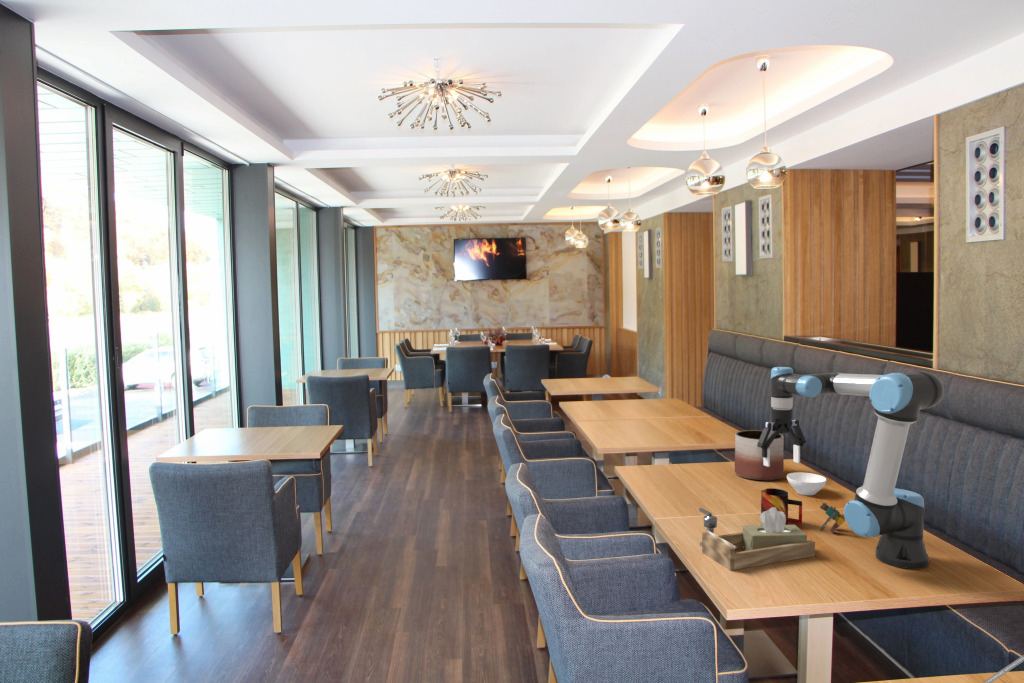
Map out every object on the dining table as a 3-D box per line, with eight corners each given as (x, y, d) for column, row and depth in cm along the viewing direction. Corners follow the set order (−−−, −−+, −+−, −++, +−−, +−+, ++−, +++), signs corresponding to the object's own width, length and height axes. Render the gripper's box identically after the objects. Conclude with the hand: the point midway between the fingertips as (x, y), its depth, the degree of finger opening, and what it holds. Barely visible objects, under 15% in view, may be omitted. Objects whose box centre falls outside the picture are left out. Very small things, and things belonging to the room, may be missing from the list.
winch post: (720, 548, 226) (720, 514, 225) (708, 550, 224) (708, 516, 223) (706, 539, 234) (706, 507, 233) (694, 541, 232) (694, 508, 232)
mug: (802, 527, 244) (803, 496, 243) (764, 526, 246) (764, 495, 245) (795, 518, 254) (795, 488, 253) (758, 517, 256) (758, 488, 255)
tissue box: (795, 546, 227) (795, 502, 226) (807, 558, 218) (808, 512, 216) (741, 547, 227) (741, 503, 226) (751, 559, 218) (752, 513, 216)
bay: (814, 555, 218) (815, 533, 218) (730, 570, 208) (730, 547, 208) (782, 539, 233) (782, 518, 232) (702, 552, 223) (702, 530, 222)
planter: (770, 468, 325) (770, 429, 324) (792, 481, 303) (792, 438, 302) (727, 470, 324) (727, 430, 323) (746, 482, 302) (746, 440, 301)
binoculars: (828, 540, 237) (845, 520, 233) (806, 522, 241) (822, 503, 237) (834, 532, 244) (850, 513, 241) (812, 515, 249) (828, 496, 245)
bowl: (831, 499, 276) (831, 483, 276) (791, 498, 279) (792, 482, 278) (819, 488, 292) (820, 472, 292) (782, 487, 295) (782, 471, 294)
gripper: (801, 404, 251) (801, 458, 252) (747, 409, 243) (747, 465, 244) (816, 407, 243) (816, 463, 245) (760, 412, 236) (760, 469, 237)
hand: (781, 464), depth 244 cm, fingers open, 13 cm apart
